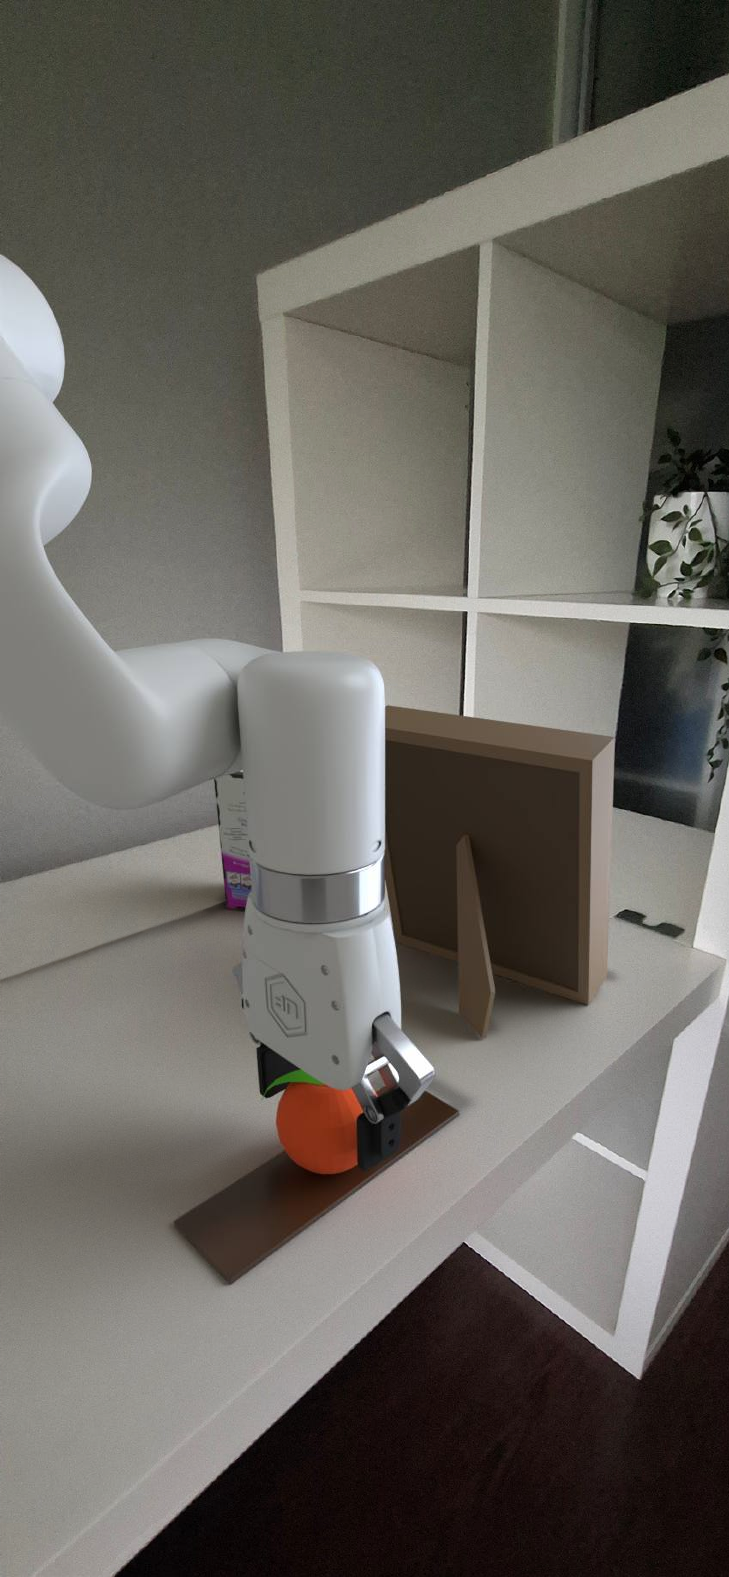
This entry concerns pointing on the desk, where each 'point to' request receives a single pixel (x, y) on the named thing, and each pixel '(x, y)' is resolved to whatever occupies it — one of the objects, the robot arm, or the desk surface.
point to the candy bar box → (233, 839)
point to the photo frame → (500, 851)
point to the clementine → (317, 1124)
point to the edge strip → (290, 1198)
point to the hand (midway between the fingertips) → (327, 1120)
